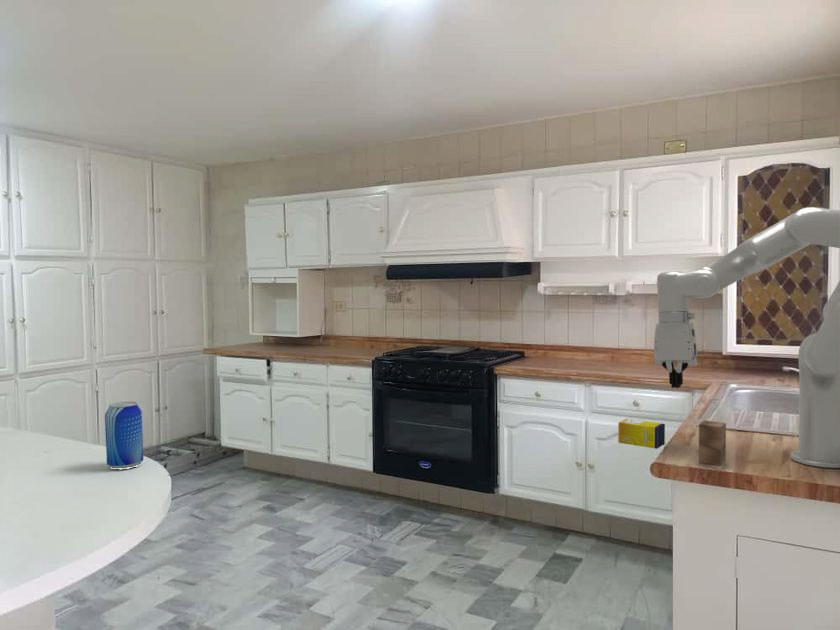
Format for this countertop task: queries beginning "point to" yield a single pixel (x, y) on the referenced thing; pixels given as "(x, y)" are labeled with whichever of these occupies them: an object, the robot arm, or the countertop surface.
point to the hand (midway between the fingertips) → (676, 387)
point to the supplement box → (641, 433)
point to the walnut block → (712, 444)
